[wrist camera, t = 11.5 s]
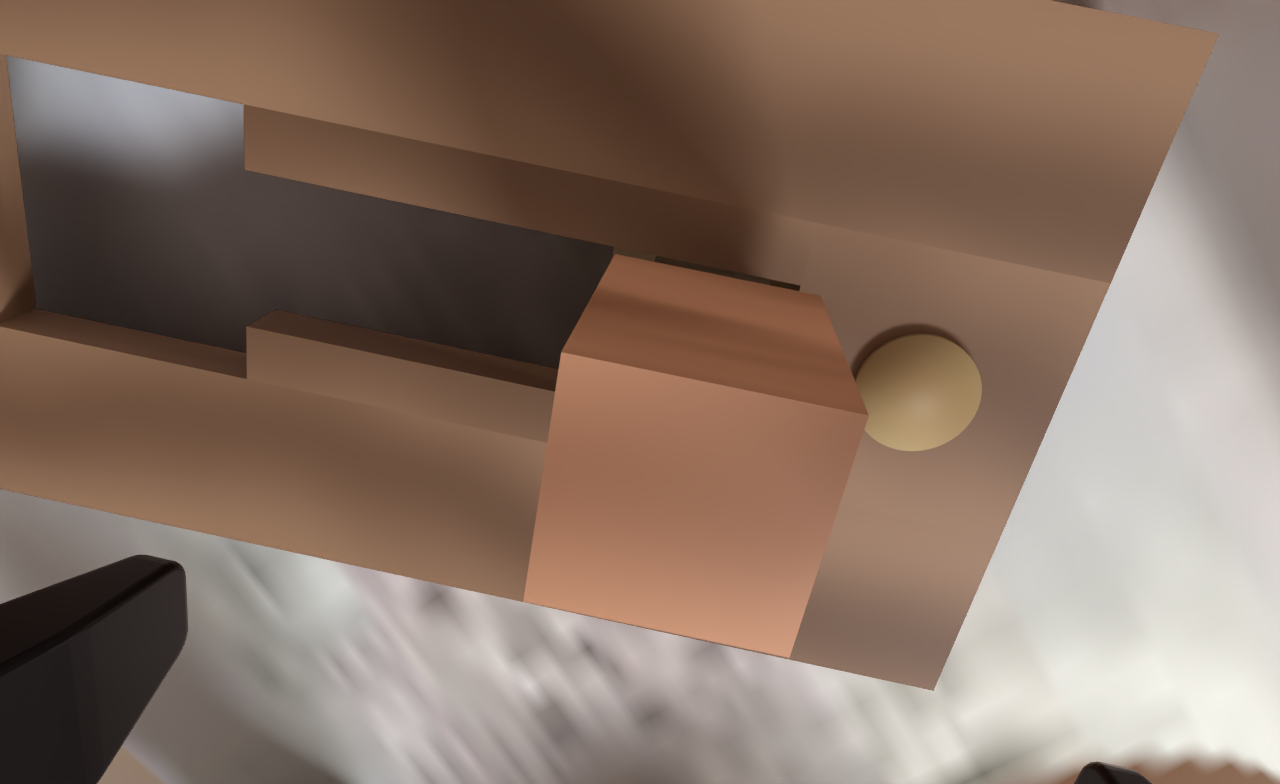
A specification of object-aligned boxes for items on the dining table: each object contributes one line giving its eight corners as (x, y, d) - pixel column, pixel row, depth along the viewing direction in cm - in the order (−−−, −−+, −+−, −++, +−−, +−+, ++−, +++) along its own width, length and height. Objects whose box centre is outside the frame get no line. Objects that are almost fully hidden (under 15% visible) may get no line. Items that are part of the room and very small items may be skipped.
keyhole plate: (898, 585, 22) (935, 696, 18) (-13, 390, 23) (-165, 459, 19) (1109, 39, 17) (1226, 33, 13) (-104, -206, 17) (-347, -283, 13)
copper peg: (770, 390, 20) (810, 686, 11) (599, 355, 20) (490, 618, 11) (816, 218, 19) (914, 391, 9) (630, 181, 19) (531, 311, 9)
